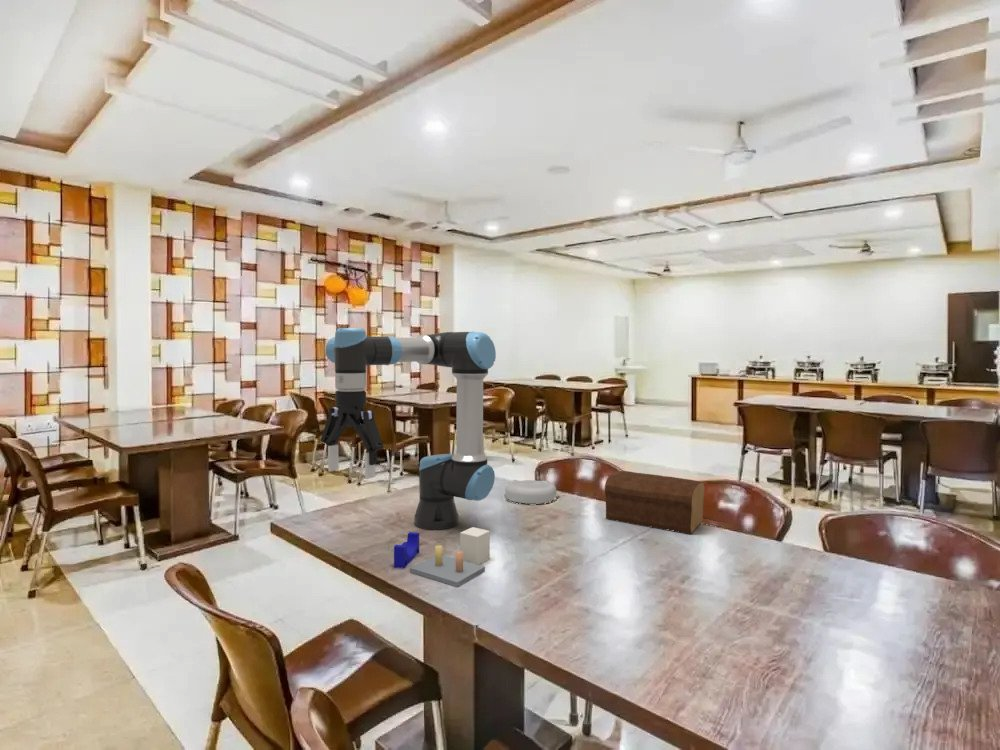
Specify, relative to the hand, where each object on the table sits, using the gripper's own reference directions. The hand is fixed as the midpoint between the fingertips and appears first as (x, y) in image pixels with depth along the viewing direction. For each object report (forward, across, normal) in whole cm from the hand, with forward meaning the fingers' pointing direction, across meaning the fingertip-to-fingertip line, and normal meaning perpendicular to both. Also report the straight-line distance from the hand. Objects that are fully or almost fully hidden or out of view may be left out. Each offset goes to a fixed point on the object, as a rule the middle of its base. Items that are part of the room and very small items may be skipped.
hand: (351, 474), depth 142 cm
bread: (+28, +46, +94) cm, 109 cm away
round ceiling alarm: (+29, -4, +95) cm, 99 cm away
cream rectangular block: (+28, +16, +30) cm, 44 cm away
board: (+28, +16, +19) cm, 37 cm away
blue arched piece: (+28, 0, +19) cm, 34 cm away
